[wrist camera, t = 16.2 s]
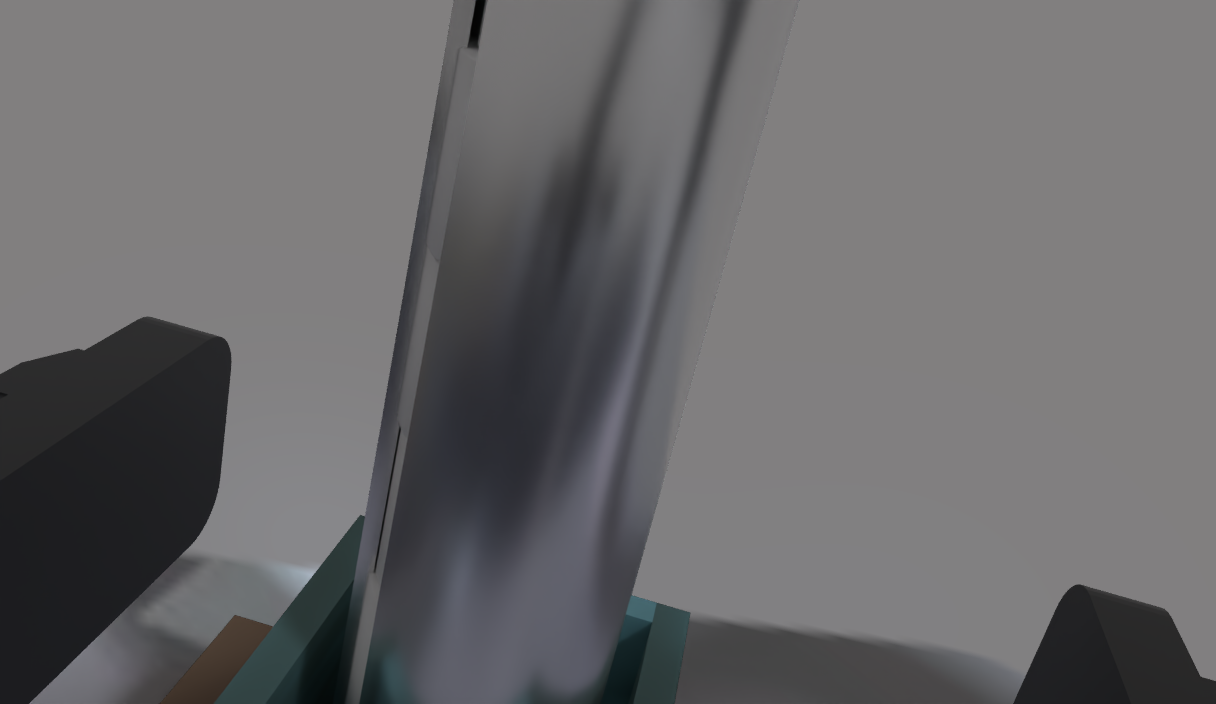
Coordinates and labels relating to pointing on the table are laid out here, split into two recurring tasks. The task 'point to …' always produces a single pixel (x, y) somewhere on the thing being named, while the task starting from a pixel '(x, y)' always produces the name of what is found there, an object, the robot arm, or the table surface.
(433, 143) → the silver metal cylinder
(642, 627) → the cup stand
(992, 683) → the table surface
